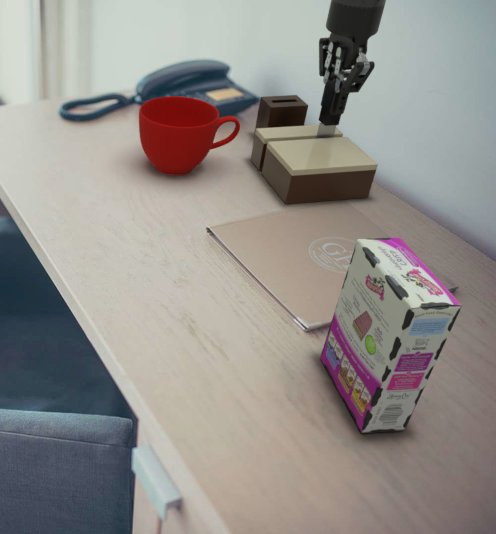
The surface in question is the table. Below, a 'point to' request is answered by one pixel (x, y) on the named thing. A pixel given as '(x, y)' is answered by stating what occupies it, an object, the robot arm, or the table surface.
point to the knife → (326, 119)
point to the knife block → (281, 112)
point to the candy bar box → (386, 333)
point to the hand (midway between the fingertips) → (331, 110)
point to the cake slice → (281, 139)
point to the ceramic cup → (180, 132)
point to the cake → (318, 170)
